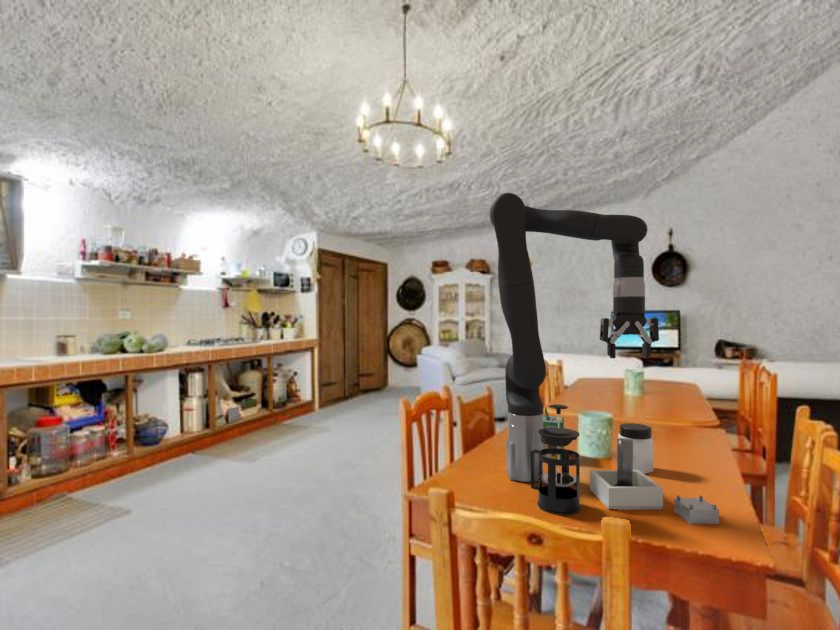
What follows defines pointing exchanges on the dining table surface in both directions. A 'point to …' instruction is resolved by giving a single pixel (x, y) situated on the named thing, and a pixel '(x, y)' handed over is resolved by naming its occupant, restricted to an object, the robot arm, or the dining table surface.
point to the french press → (558, 489)
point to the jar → (639, 445)
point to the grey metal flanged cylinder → (624, 462)
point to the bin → (626, 491)
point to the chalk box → (552, 423)
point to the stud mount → (696, 510)
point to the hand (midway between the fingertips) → (629, 358)
